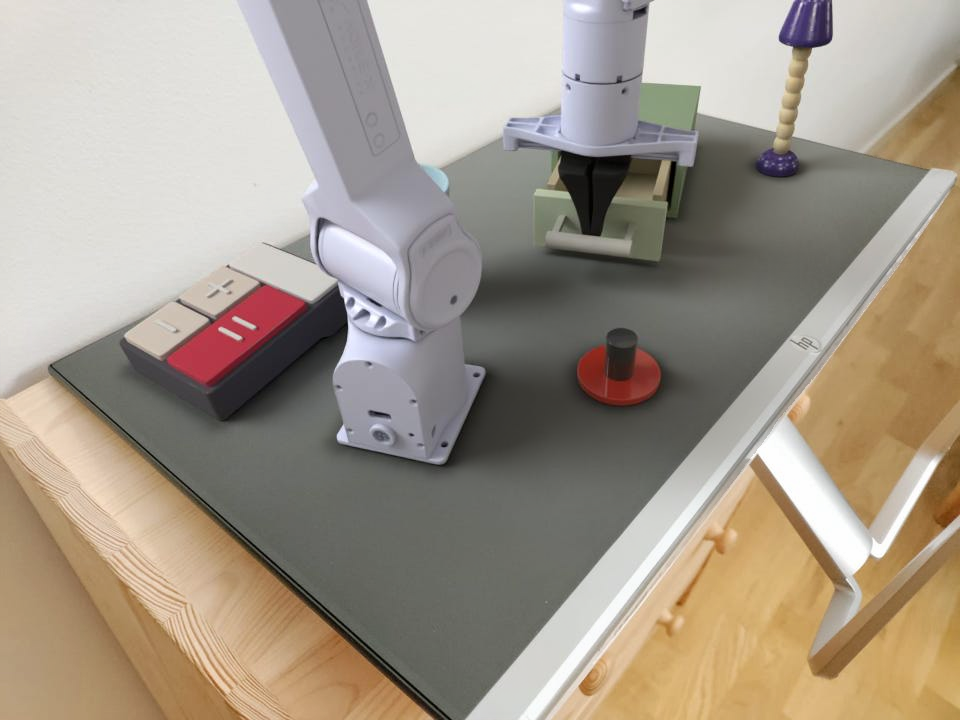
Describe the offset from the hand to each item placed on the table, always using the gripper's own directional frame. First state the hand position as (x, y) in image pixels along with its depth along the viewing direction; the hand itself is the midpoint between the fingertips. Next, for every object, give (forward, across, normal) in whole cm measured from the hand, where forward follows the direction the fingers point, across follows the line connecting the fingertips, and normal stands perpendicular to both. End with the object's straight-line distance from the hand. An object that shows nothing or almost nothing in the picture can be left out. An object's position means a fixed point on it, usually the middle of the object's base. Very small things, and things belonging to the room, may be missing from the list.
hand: (592, 234), depth 59 cm
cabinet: (+4, 0, -18) cm, 19 cm away
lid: (+4, -4, +12) cm, 14 cm away
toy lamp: (+4, -15, -24) cm, 28 cm away
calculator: (+4, +25, +16) cm, 30 cm away
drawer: (+3, 0, -7) cm, 8 cm away
